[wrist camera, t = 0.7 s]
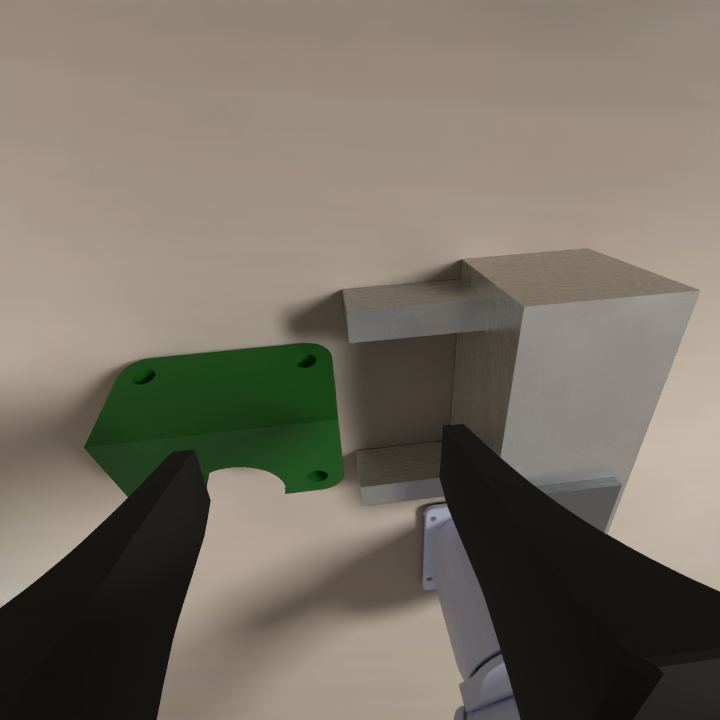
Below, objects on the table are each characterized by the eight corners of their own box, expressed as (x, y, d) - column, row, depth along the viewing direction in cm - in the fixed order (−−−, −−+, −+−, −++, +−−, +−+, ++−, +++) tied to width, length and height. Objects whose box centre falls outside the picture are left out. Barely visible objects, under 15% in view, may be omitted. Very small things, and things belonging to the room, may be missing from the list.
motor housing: (541, 458, 26) (609, 552, 20) (357, 479, 26) (371, 584, 20) (588, 248, 20) (712, 295, 14) (340, 269, 19) (353, 328, 13)
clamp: (206, 386, 26) (114, 502, 20) (176, 319, 22) (52, 438, 16) (368, 422, 23) (316, 567, 17) (366, 352, 20) (299, 508, 14)
